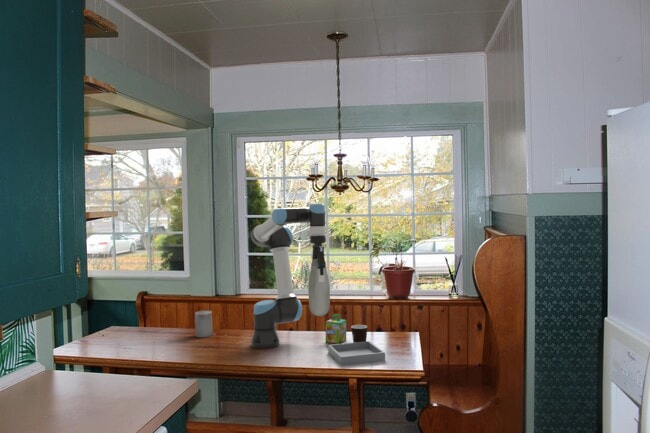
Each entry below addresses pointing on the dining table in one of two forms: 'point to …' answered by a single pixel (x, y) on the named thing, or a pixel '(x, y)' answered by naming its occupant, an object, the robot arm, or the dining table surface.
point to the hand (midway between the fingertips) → (318, 280)
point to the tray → (356, 353)
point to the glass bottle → (318, 291)
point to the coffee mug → (359, 333)
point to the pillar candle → (203, 323)
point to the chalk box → (336, 330)
